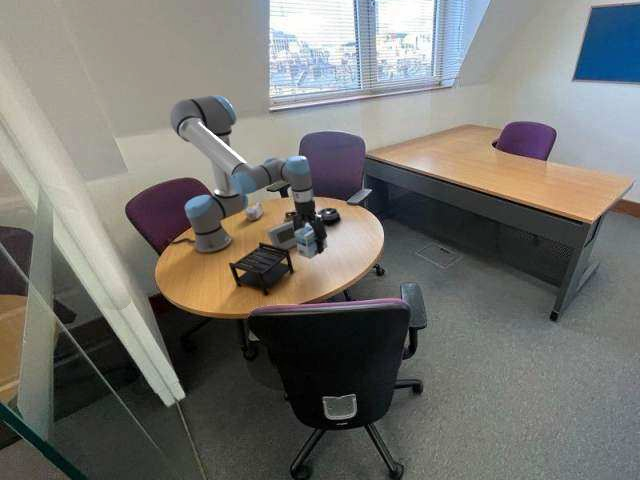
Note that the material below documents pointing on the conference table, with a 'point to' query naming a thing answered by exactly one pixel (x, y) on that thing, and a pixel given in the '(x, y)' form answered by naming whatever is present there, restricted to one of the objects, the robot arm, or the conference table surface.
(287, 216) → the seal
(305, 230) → the light bulb box
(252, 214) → the mineral specimen
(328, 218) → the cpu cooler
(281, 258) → the rack
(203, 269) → the conference table surface
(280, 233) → the digital clock
